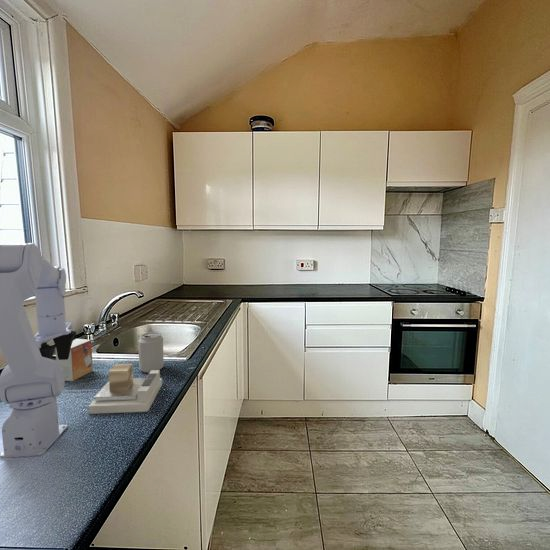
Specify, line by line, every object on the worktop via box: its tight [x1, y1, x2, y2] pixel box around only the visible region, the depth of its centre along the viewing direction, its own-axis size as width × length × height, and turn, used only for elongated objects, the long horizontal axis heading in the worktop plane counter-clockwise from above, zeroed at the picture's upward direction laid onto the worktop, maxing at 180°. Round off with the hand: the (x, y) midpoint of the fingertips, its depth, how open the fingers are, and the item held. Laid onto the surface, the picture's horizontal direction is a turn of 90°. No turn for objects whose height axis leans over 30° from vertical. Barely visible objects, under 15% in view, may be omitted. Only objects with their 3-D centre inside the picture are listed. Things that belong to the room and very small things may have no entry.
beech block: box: [108, 363, 134, 391], centre depth 82 cm, size 4×4×6 cm
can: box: [137, 331, 165, 374], centre depth 100 cm, size 8×8×12 cm
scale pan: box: [93, 377, 146, 401], centre depth 82 cm, size 10×10×1 cm
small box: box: [55, 338, 94, 382], centre depth 94 cm, size 8×6×10 cm
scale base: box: [88, 370, 163, 415], centre depth 82 cm, size 14×14×5 cm
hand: (55, 365), depth 78 cm, fingers open, 7 cm apart
